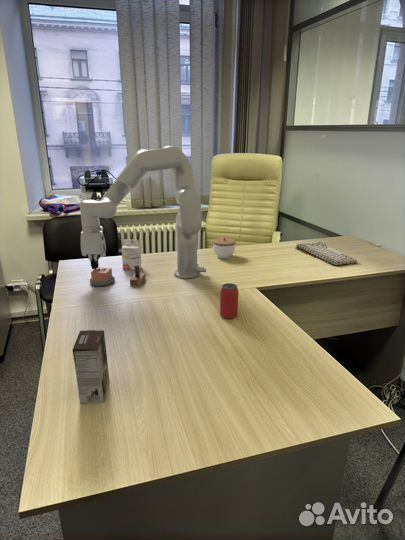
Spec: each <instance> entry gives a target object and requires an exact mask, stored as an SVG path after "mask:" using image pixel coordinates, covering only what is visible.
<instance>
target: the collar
mask: <svg viewBox="0 0 405 540" xmlns="http://www.w3.org/2000/svg"><path fill="white" fill-rule="evenodd" d="M100 268H104V272H99V269H100ZM112 269H113V268H112V267H106V266H105V267H101V266H98V268H97V269H92V271H91V272H90V275H91V276H90V277H91V278H92V282H108V281H109V280H110V279H111V278H112V276H113V270H112ZM91 278H90V279H91Z"/></svg>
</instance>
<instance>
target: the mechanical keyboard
mask: <svg viewBox="0 0 405 540" xmlns="http://www.w3.org/2000/svg"><path fill="white" fill-rule="evenodd" d="M294 250H297V251H298V252H300V253H302V254H304V255H308V256H310V257H312V258H314V259H318V260H320V261H322V262H323V263H327V264H328V265H331V266H332V267H335V268H336V267H344V266H350V265H355V264H358V259H356V258H353V257H351V256H348V255H346V254H344V253H343V252H341V251H339V250H337V249H334V248H332V247H329V246H327V244H326V243H324V242H321V241H314V242H305V243H301V242H300V243H296V246H295V247H294Z"/></svg>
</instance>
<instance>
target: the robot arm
mask: <svg viewBox="0 0 405 540" xmlns="http://www.w3.org/2000/svg"><path fill="white" fill-rule="evenodd" d="M164 170H172V172H173V179H174V191H175V192H174V193H175V196H174V197H175V201H176V203H177V204H178V205H179V210H178V212H177V214H176V215H175V229H176V249H177V250H176V253H177V254H176V256H177V257H176V258H177V261H176V262H177V263H176V264H177V265H176V266H177V269H176V270H174V276H175V277H177V278H179V279H185V280H186V279H187V280H188V279H195V278H198V277H199V276H201V273H207V268H206V267H204V266H199V265H200V264H199V263H198V232H199V231H200V230H201V228H202V225H203V219H202V218H203V216H202V199H201V196H200V193H199V191H198V190H196V188H195V181H194V180H195V179H194V171H193V167H192V163H191V161H190V159H189V157H188V156H187V155H186V154H185V153H184V151H182V149H180V147H178V146H175V145H166V146H164V147H161V148H160V147H159V148H155V149H145V148H144V149H142V148H141V149H140V150H138V151H137V152H135V154H134V155H133V157H132V158H131V159H130V160H129V162H128V163H127V164H126V166H125V167H124V168H123V170H122V171H121V173H120V174H118V176H117V178H116V179H115V181H114V182H113V183H112V185H110V187H109V188H108V189H107V191H106V192H105V194H104V195H103V196H102V197H101V199H100V200H99V201H97V200H96V199H95V200H94V199H84V200H81V201H80V202H79V211H80V219H81V220H80V221H81V228H82V229H81V230H82V231H81V232H80V251H81V255H82V256H83V257H86V258H87V259H88V260H89V262H90V267H91V270H94V269H97V268H98V267H100V266H99V259H100V258H104V257H106V255H107V254H106V252H107V247H106V239H105V236H104V232H103V230H104V226H101V222H100V221H101V220H100V218H101V219H102V218H103V219H111V218H113V217H115V216H116V214H117V210H118V208H117V207H118V206H119V205H120V203H121V202H122V201H123V200H124V198H126V197H127V195H129V193H131V192H132V191H135V189H137V187H138V186H139V184H140V183H141V182H142V181H143V179H144V178H145V176H146V175H147V174H148V173H149V172H150V173H151V172H157V171H158V172H159V171H164Z"/></svg>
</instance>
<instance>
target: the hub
mask: <svg viewBox="0 0 405 540" xmlns="http://www.w3.org/2000/svg"><path fill="white" fill-rule="evenodd" d="M99 272H104V268H100V269H99ZM115 282H116V279H115V276H113V275H112V278H111V279H110V280H109V281H108V282H92V278H90V279H89V284H90V285H91V287H95V288H105V287H109V286H112V285H115Z"/></svg>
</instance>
